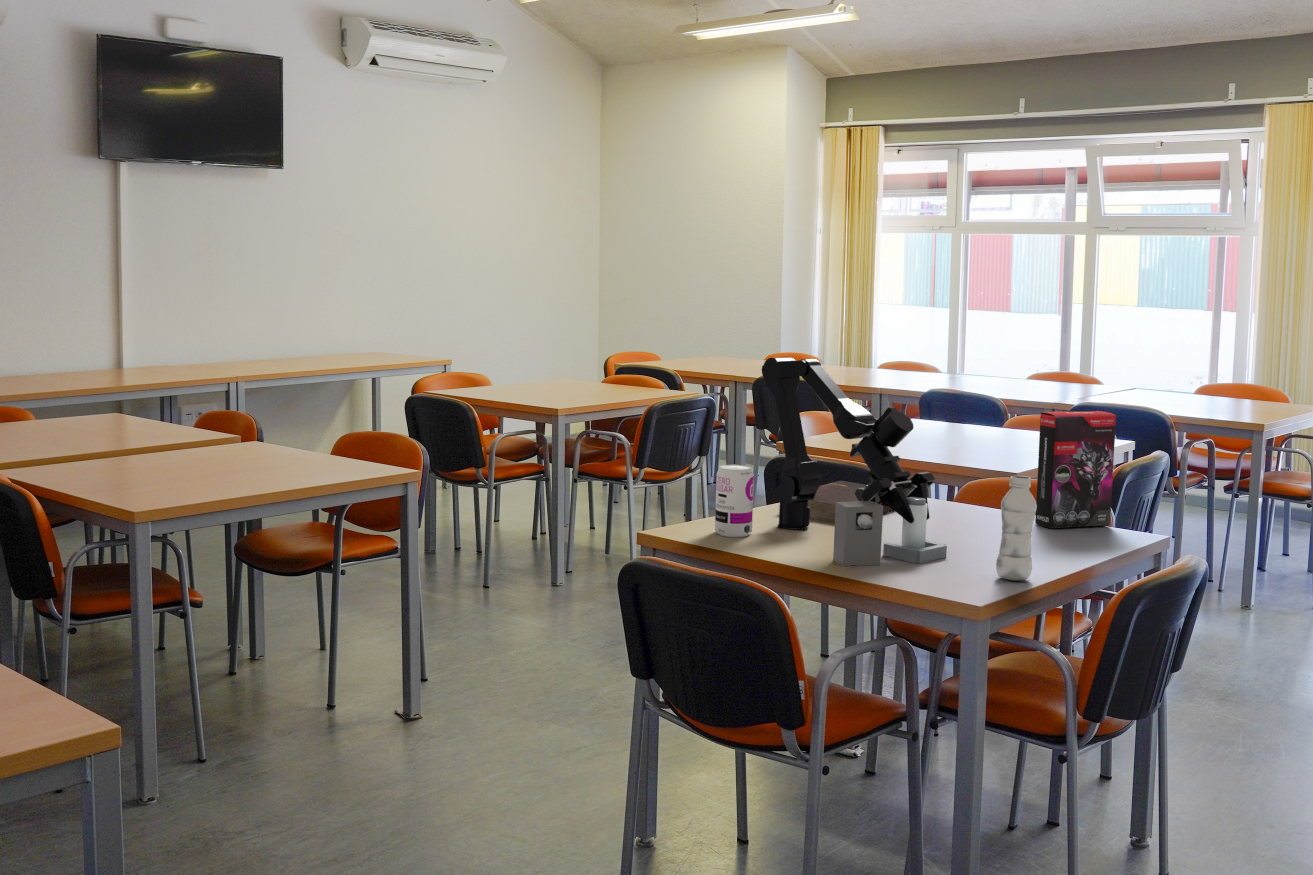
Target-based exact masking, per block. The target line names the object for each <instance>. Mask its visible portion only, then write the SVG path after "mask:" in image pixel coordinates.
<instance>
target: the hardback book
mask: <svg viewBox="0 0 1313 875" xmlns="http://www.w3.org/2000/svg"><path fill="white" fill-rule="evenodd" d="M866 485H867V484H864V483H857V482H850V481H845V480H837V481H834V482H831V483H826V484H822V485H821V484H820V487H819V488H818V490H817V491H816V494H815V497H814V500H808V506H810V519H813V518H814V520H819V519H820V521H825V520H826V522H831V521H833V522H832V523H835V510H836V502H858V499H857V497H856V495H855V492H856V490H857V489H858V488H866ZM890 511H892V512H894V511H893V509H891V508H890V507H888V506H884V507H883V515H885V514H884V513H886V514H888V513H887V512H889V513H891V512H890Z"/></svg>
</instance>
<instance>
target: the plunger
mask: <svg viewBox="0 0 1313 875" xmlns="http://www.w3.org/2000/svg"><path fill="white" fill-rule="evenodd" d="M872 524H873V519H872V518H871V517H870V516H869V515H866V514H864V513H862V512H860V513H856V525H857V526H859V527H861V528H863V529H869V528H870V527H871V526H872Z"/></svg>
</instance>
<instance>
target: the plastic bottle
mask: <svg viewBox="0 0 1313 875" xmlns="http://www.w3.org/2000/svg"><path fill="white" fill-rule="evenodd" d="M1009 478H1010V479H1009V484H1008V486H1009V487H1010V488H1009V490H1008V491H1007V493H1005V495H1004V496H1003V498H1002V500H1001V503H1000V512H1001V540H1000V546H999V551H998V555H997V559H996V563H995V571H996V574H997V575H998V577H999V578H1001V579H1005V580H1009V581H1013V582H1014V581H1025V580H1028V579H1029V578H1030V577H1031V574H1032V570H1033V561H1032V546H1031V545H1032V540H1031V539H1032V533H1033V526H1034V521H1035V517H1036V509H1037V504H1036V499H1035V497H1034V495H1033V494H1032V492H1031V491H1030V488H1031V487H1032V484H1031V477H1030V476H1026V475H1011V476H1010V477H1009Z"/></svg>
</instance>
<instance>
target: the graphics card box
mask: <svg viewBox="0 0 1313 875" xmlns="http://www.w3.org/2000/svg"><path fill="white" fill-rule="evenodd" d="M1039 415H1040V418H1039V440H1038V442H1039V443H1038V459H1037V460H1038V461H1037V462H1038V464H1037V479H1036V480H1037V483H1036V499H1035V501H1036V504H1037V509H1036V513H1035V518H1034V521H1035V524H1036V525H1039V526H1042V527H1044V528H1047V529H1069V528H1079V527H1081V528H1083V527H1084V528H1086V527H1089V526H1093V527H1103V526H1104V527H1105V526H1110V525H1111V511H1112V493H1113V477H1114V476H1113V475H1114V474H1113V473H1114V460H1115V459H1114V458H1115V442H1116V423H1117V415H1116V414H1115V413H1112V412H1107V411H1102V410H1096V411H1094V410H1093V411H1040V414H1039Z"/></svg>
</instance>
